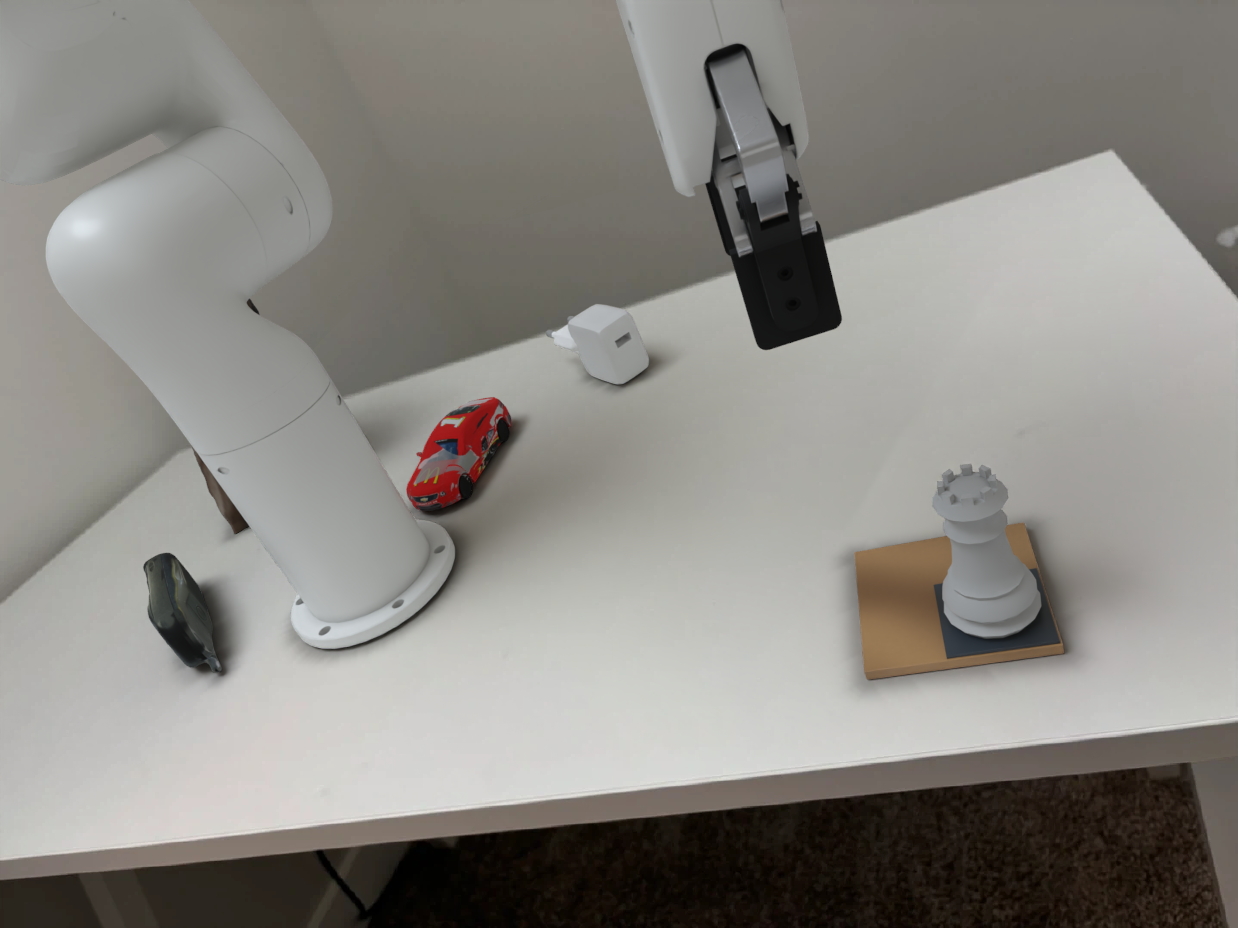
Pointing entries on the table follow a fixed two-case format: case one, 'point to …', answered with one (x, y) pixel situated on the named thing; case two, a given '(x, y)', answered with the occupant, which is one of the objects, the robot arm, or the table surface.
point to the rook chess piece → (982, 558)
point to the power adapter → (604, 343)
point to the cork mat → (935, 612)
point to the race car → (458, 453)
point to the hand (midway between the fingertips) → (778, 286)
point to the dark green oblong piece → (180, 611)
